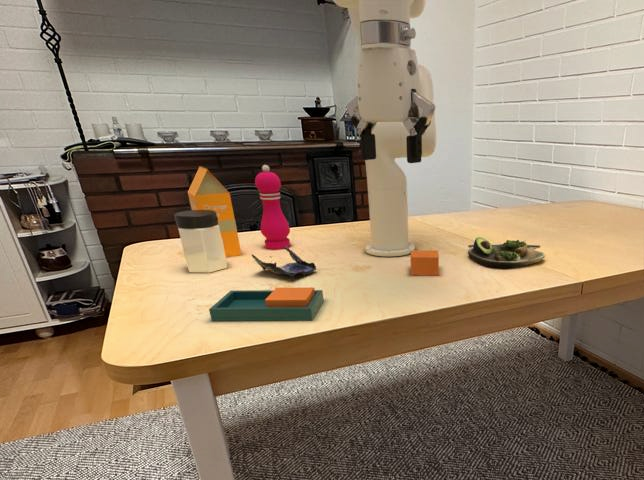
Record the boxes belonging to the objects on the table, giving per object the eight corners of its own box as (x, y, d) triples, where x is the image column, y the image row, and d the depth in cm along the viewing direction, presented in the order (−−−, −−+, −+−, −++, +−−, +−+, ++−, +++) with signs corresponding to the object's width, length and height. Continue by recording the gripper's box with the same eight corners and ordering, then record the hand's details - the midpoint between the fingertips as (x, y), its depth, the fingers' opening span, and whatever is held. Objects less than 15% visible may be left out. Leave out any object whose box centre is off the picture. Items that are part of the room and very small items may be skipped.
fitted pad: (278, 300, 85) (276, 287, 84) (315, 300, 85) (314, 287, 84) (267, 314, 79) (264, 300, 78) (307, 313, 79) (305, 299, 78)
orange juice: (208, 259, 112) (187, 169, 102) (200, 251, 118) (180, 166, 109) (242, 254, 116) (225, 167, 107) (233, 247, 122) (216, 165, 113)
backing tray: (233, 301, 86) (230, 290, 85) (323, 300, 87) (322, 289, 86) (211, 321, 78) (208, 309, 77) (312, 320, 78) (310, 308, 77)
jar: (230, 270, 104) (218, 214, 98) (189, 275, 100) (174, 217, 95) (225, 260, 111) (214, 208, 105) (186, 265, 107) (173, 211, 102)
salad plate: (521, 245, 126) (522, 228, 124) (563, 262, 112) (565, 242, 110) (457, 253, 118) (457, 235, 116) (494, 271, 104) (495, 251, 102)
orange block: (411, 267, 107) (411, 250, 105) (438, 267, 107) (438, 250, 105) (411, 275, 101) (410, 257, 99) (438, 275, 101) (438, 257, 100)
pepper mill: (282, 242, 128) (270, 163, 119) (297, 246, 124) (286, 164, 115) (258, 246, 123) (243, 164, 114) (273, 251, 119) (259, 166, 110)
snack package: (299, 263, 109) (249, 271, 102) (298, 237, 106) (246, 243, 99) (323, 284, 102) (271, 294, 95) (323, 256, 99) (269, 264, 92)
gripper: (446, 38, 70) (446, 162, 78) (359, 46, 78) (366, 157, 86) (417, 31, 64) (420, 165, 72) (326, 40, 72) (337, 159, 80)
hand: (391, 161), depth 79 cm, fingers open, 9 cm apart
